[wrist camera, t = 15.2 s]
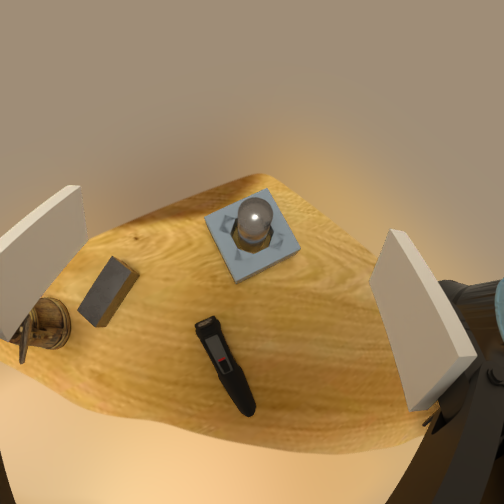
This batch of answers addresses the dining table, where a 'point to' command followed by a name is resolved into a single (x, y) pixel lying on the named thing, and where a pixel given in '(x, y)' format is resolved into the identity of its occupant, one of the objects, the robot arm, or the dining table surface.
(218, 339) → the electric trimmer
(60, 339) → the wooden mug
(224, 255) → the bore block
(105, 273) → the square bar
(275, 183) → the dining table surface
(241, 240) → the ball
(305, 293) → the dining table surface
